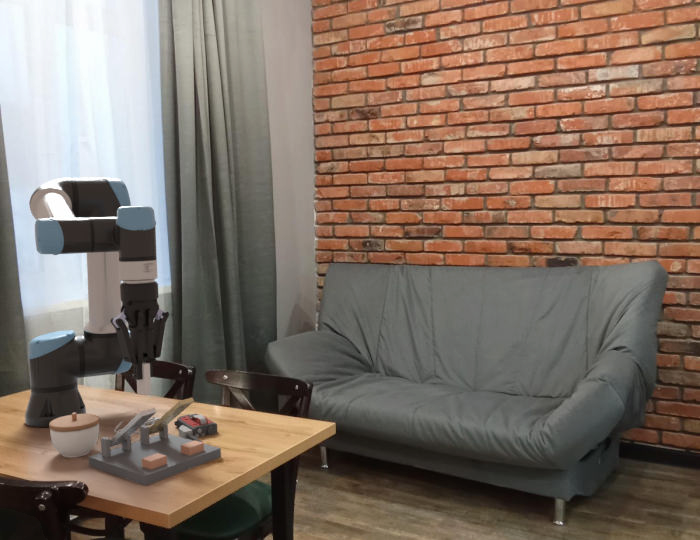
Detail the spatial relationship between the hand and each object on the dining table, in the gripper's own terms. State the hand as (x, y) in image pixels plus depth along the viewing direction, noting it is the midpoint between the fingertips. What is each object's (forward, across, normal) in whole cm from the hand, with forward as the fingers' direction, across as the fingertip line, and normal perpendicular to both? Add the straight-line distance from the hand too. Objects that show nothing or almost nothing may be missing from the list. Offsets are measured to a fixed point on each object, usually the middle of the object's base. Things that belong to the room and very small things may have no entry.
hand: (144, 393), depth 143 cm
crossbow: (+18, +20, +29) cm, 40 cm away
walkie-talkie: (+17, +23, +11) cm, 31 cm away
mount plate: (+17, +5, +4) cm, 18 cm away
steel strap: (+9, 0, +5) cm, 10 cm away
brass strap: (+9, +10, +5) cm, 14 cm away
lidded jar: (+17, -2, +24) cm, 30 cm away
